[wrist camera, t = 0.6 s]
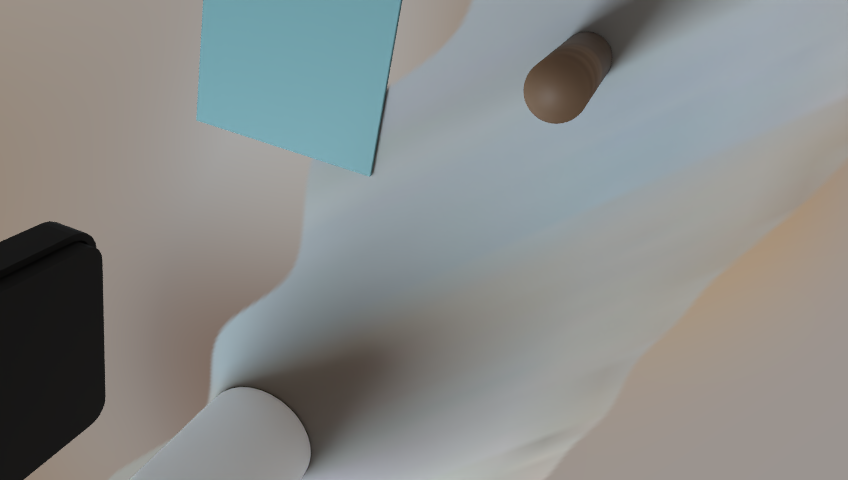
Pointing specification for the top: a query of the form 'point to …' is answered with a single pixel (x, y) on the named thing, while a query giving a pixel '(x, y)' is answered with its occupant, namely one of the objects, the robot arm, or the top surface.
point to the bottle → (235, 442)
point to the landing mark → (299, 74)
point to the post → (567, 78)
